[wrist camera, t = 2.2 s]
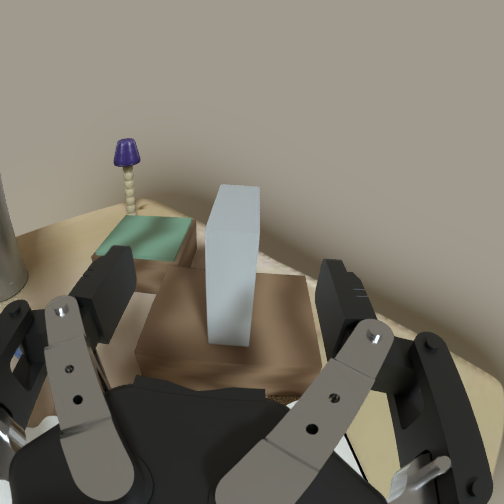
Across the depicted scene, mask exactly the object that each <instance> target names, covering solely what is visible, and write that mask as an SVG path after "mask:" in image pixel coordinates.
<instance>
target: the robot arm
mask: <svg viewBox="0 0 504 504" xmlns="http://www.w3.org/2000/svg"><path fill="white" fill-rule="evenodd" d="M27 278H28V273H27V270H26V268H25V265H24V262H23V259H22V256H21V253H20V250H19V247H18V244H17V241H16V237H15V234H14V231H13V227H12V224H11V220H10V216H9V212H8V208H7V204H6V200H5V195H4V191H3V186H2V181H1V175H0V302H1V301H4V300H6V299H8V298H10V297H12V296H14V295H15V294H16V293H18V292H19V291H20V290H21V289H22V288H23V286H24V285H25V283H26V281H27ZM136 283H137V277H136V271H135V266H134V260H133V254H132V249H131V247H130V246H122V245H113V246H112V247H111V248H110V249H109V250H108V252H107V253H106V254H105V256H101V257H99V258H98V259H96V260H95V261H93V262H92V264H91V265H90V266H89V268H88V269H87V270H86V272H85V273H84V274H83V277H81V278H80V280H79V281H78V282H77V284H76V285H75V286H74V288H73V289H72V291H71V292H70V293H69V295H68V296H60V297H57V298H55V299H53V300H52V301H51V302H49V304H48V305H47V306H46V308H45V309H42V310H31V308H30V306H29V304H28V302H27V301H25V300H16V301H13V302H11V303H10V304H8V305H7V306H6V307H5V308H4V310H3V311H2V312H1V314H0V480H6V481H8V482H9V485H10V490H11V497H12V504H487V503H488V501H489V499H490V498H491V495H492V492H493V481H492V476H491V472H490V468H489V463H488V459H487V456H486V452H485V448H484V445H483V441H482V438H481V434H480V431H479V428H478V425H477V422H476V419H475V416H474V413H473V410H472V407H471V404H470V401H469V399H468V396H467V393H466V391H465V388H464V385H463V383H462V380H461V378H460V375H459V373H458V371H457V368H456V366H455V363H454V361H453V359H452V356H451V354H450V352H449V350H448V348H447V346H446V343H445V342H444V341H443V340H442V338H440V337H439V336H438V335H436V334H434V333H431V332H422V333H419V334H418V335H417V336H416V338H415V339H414V341H412V340H407V339H403V338H398V337H395V336H394V334H393V332H392V330H391V328H390V327H389V326H388V325H386V324H385V323H383V322H382V321H379V320H377V317H376V315H375V312H374V310H373V308H372V305H371V303H370V300H369V298H368V297H367V294H366V291H365V290H364V287H363V285H362V282H361V280H360V279H359V278H358V277H357V276H356V275H355V274H354V273H353V272H347V271H346V269H345V267H344V264H343V262H342V260H336V259H323V261H322V264H321V268H320V273H319V278H318V282H317V286H316V291H315V304H316V309H317V313H318V318H319V322H320V327H321V332H322V337H323V342H324V347H325V352H326V357H327V362H328V363H327V364H326V365H325V367H324V368H323V369H322V371H321V372H320V373H319V375H318V376H317V377H316V378H315V380H314V381H313V382H312V384H311V385H310V386H309V387H308V389H307V390H306V391H305V392H304V394H303V395H302V396H301V397H300V399H299V400H298V401H297V402H296V403H295V405H294V406H293V407H292V408H291V409H290V408H289V407H287V406H285V405H283V404H281V403H279V402H277V401H274V400H271V399H268V398H265V389H256V388H238V387H230V388H222V389H215V390H206V391H195V390H192V389H189V388H186V387H183V386H181V385H178V384H175V383H172V382H170V381H167V380H163V379H156V378H150V377H144V376H138V375H136V378H135V381H134V384H128V385H122V386H118V387H115V388H113V389H111V387H110V384H109V382H108V379H107V377H106V374H105V371H104V369H103V366H102V363H101V360H100V357H99V354H98V352H97V349H96V346H97V344H98V343H103V344H109V342H110V340H111V338H112V336H113V334H114V331H115V329H116V327H117V325H118V323H119V321H120V319H121V317H122V315H123V313H124V311H125V309H126V307H127V305H128V303H129V301H130V299H131V297H132V295H133V293H134V291H135V288H136ZM18 347H19V349H20V351H21V352H22V355H21V357H20V359H19V361H18V363H17V365H16V367H15V369H14V371H13V373H12V372H11V369H10V362H11V359H12V357H13V356H14V354H15V352H16V350H17V348H18ZM47 373H48V378H49V383H50V388H51V393H52V397H53V402H54V406H55V410H56V414H57V418H58V422H59V423H58V424H57V425H55V426H54V427H52V428H51V429H49V430H48V431H46V432H44V433H43V434H41V435H40V436H38V437H37V438H35V439H34V440H32V441H30V442H29V443H26V434H25V429H26V426H27V423H28V420H29V418H30V415H31V412H32V410H33V407H34V405H35V402H36V399H37V397H38V395H39V392H40V390H41V387H42V385H43V383H44V380H45V378H46V376H47ZM370 390H374V391H379V392H384V393H386V394H387V399H388V403H389V408H390V413H391V417H392V422H393V427H394V433H395V438H396V444H397V449H398V456H399V462H400V468H401V469H400V470H398V471H397V472H396V473H395V475H394V476H393V478H392V481H391V490H390V494H389V497H388V498H387V500H386V499H385V498H384V496H383V495H382V494H381V493H380V492H379V491H377V490H376V489H375V488H374V487H373V486H372V485H371V484H369V483H368V482H367V481H366V480H365V479H364V478H363V477H362V476H361V475H359V474H358V473H357V472H356V471H355V470H354V469H353V468H352V467H351V466H350V465H349V464H348V463H347V462H345V461H344V460H343V459H342V458H341V457H340V456H339V455H338V454H337V453H336V452H335V451H334V449H335V448H336V446H337V445H338V443H339V442H340V440H341V439H342V437H343V435H344V434H345V432H346V431H347V429H348V428H349V426H350V424H351V423H352V421H353V419H354V418H355V416H356V414H357V413H358V411H359V409H360V407H361V406H362V404H363V402H364V400H365V399H366V397H367V395H368V393H369V391H370Z"/></svg>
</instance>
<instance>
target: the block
mask: <svg viewBox="0 0 504 504" xmlns="http://www.w3.org/2000/svg"><path fill="white" fill-rule="evenodd" d="M259 193H260V192H259V187H254V186H238V185H221V186H220V189H219V192H218V194H217V197H216V200H215V203H214V206H213V208H212V211H211V215H210V217H209V220H208V223H207V226H206V229H205V264H206V300H207V325H208V343H209V344H220V345H232V346H247V347H249V339H250V329H251V319H252V309H253V299H254V289H255V278H256V268H257V257H258V247H259V236H260V201H259V200H260V195H259Z"/></svg>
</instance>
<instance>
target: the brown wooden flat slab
mask: <svg viewBox="0 0 504 504" xmlns="http://www.w3.org/2000/svg"><path fill="white" fill-rule="evenodd" d="M135 355H136V358H137V361H138V364H139V366H140V369H141V372H142V375H143V376H144V377H150V378H156V379H163V380H167V381H170V382H172V383H175V384H178V385H181V386H183V387H186V388H189V389H192V390H200V391H206V390H215V389H222V388H230V387H238V388H256V389H265V395H271V396H302V395H303V394H304V392H305V391H306V390H307V389H308V387H309V386H310V385H311V384H312V382H313V381H314V380H315V378H316V377H317V376H318V375H319V373H320V371H321V368H322V363H321V357H320V351H319V345H318V340H317V334H316V329H315V324H314V318H313V313H312V308H311V303H310V298H309V293H308V288H307V283H306V278H305V276H297V275H281V274H266V273H256V278H255V289H254V299H253V309H252V319H251V329H250V339H249V347H247V346H232V345H220V344H209V343H208V325H207V300H206V269H197V268H185V267H173V266H169V267H168V269H167V271H166V274H165V276H164V278H163V281H162V283H161V285H160V288H159V290H158V293H157V295H156V297H155V300H154V302H153V305H152V307H151V310H150V312H149V315H148V317H147V320H146V322H145V325H144V328H143V330H142V333H141V335H140V338H139V341H138V343H137V346H136V349H135Z"/></svg>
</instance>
